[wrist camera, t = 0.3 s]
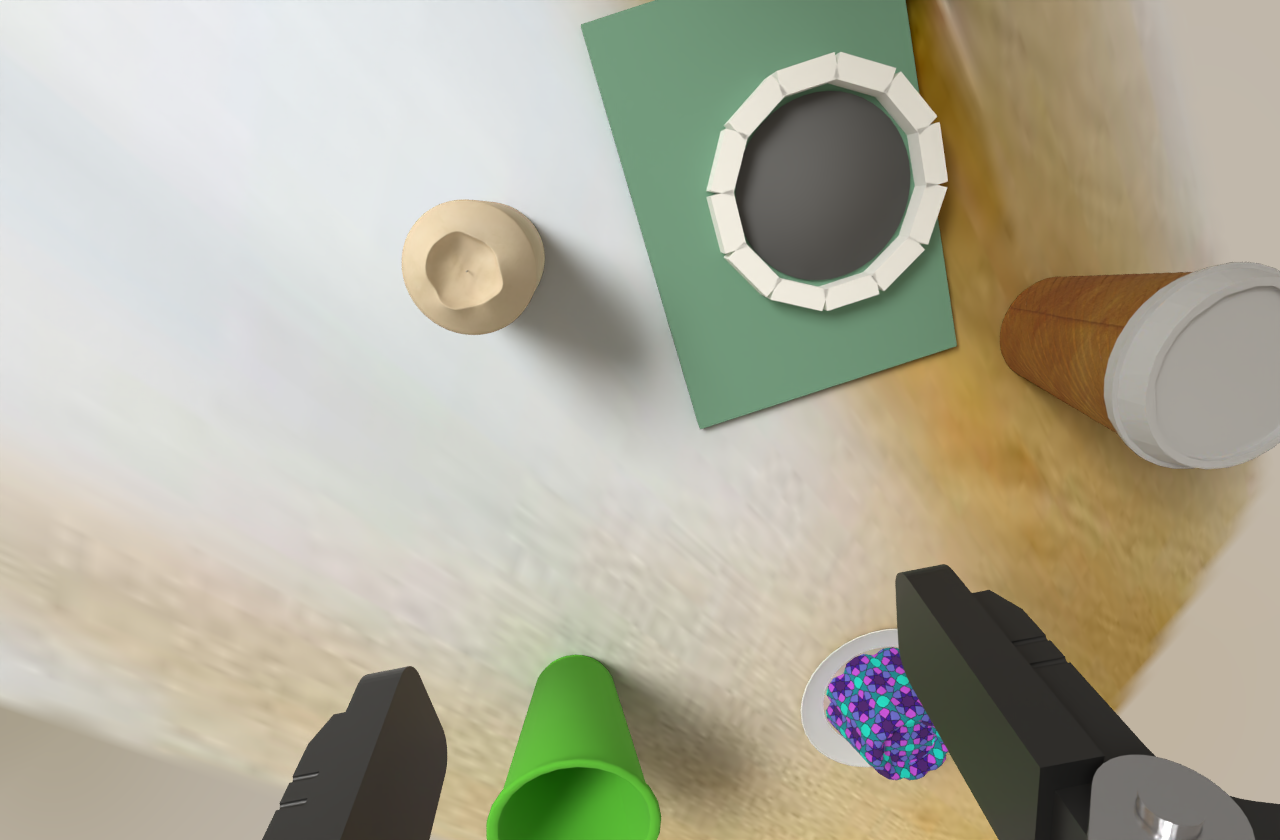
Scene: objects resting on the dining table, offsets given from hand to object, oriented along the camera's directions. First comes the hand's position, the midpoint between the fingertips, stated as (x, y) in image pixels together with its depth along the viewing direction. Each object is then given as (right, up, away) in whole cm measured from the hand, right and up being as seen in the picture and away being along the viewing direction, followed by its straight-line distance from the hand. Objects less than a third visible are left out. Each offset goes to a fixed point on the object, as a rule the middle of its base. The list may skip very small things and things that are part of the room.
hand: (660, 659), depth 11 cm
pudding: (+17, -16, +37) cm, 43 cm away
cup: (-5, -14, +34) cm, 37 cm away
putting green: (+8, +16, +25) cm, 31 cm away
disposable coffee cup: (+24, +10, +29) cm, 39 cm away
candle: (-8, +13, +25) cm, 29 cm away
